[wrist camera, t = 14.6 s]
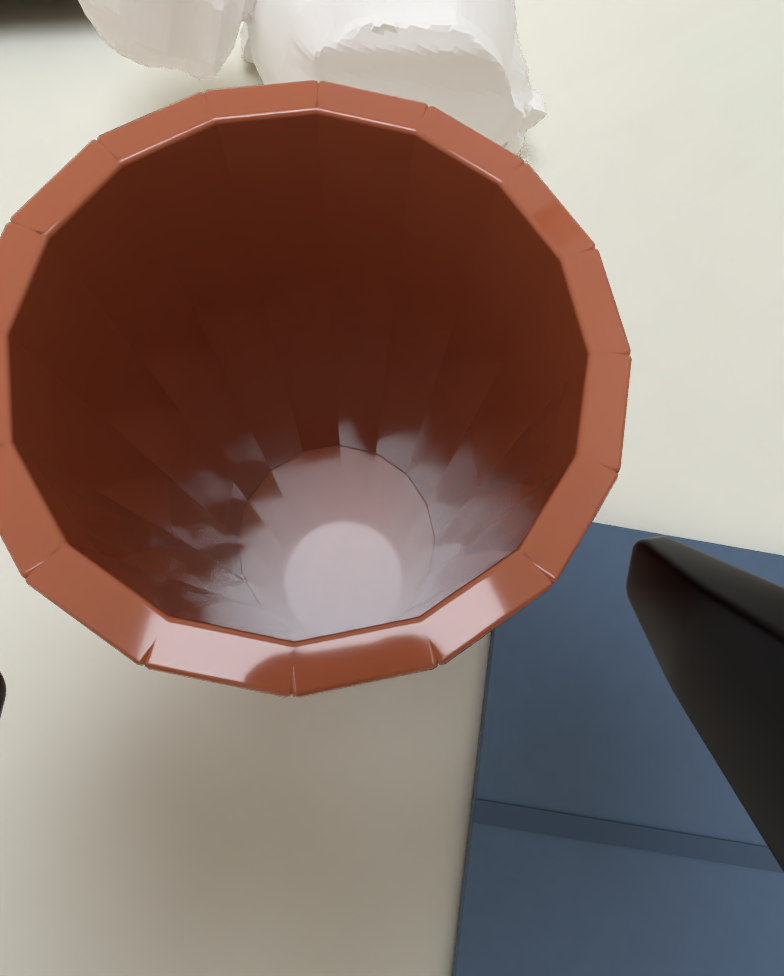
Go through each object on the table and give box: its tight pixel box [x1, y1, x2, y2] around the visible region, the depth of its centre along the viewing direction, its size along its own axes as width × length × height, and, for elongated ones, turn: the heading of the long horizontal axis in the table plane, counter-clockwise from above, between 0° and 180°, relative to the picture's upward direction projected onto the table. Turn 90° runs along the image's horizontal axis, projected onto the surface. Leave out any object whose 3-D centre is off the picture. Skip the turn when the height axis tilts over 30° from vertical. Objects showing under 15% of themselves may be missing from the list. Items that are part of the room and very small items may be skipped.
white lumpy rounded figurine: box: [78, 0, 547, 155], centre depth 19 cm, size 9×8×15 cm
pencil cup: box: [0, 80, 631, 697], centre depth 12 cm, size 7×7×13 cm
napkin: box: [452, 522, 784, 976], centre depth 17 cm, size 18×12×1 cm, turn 171°
